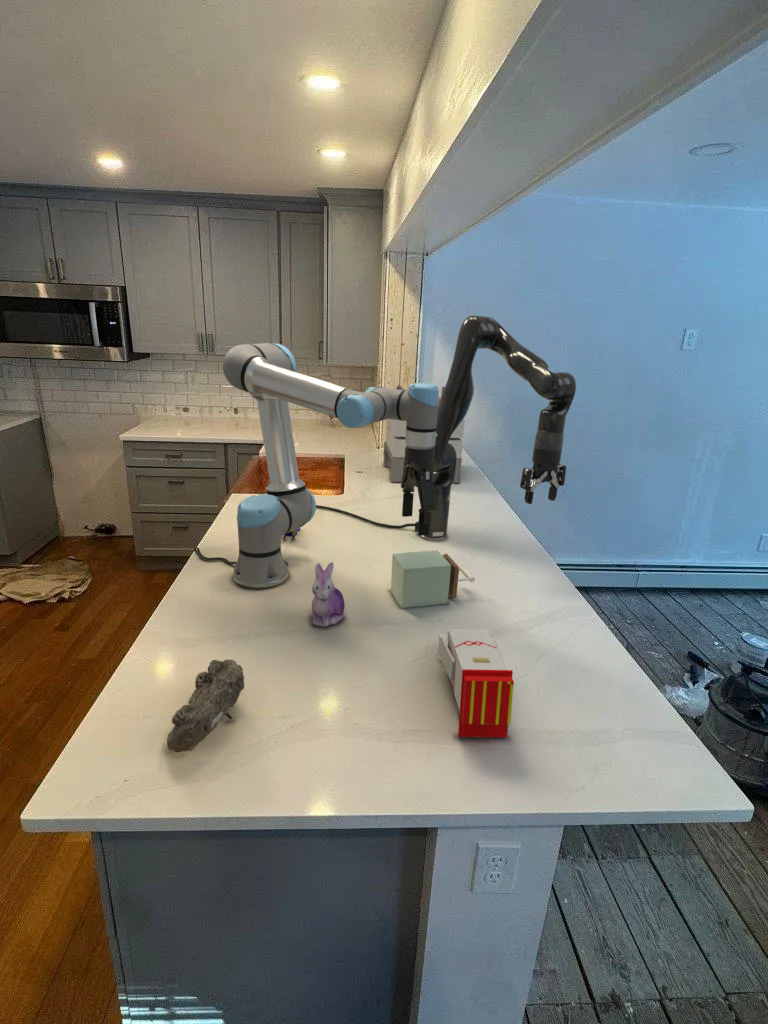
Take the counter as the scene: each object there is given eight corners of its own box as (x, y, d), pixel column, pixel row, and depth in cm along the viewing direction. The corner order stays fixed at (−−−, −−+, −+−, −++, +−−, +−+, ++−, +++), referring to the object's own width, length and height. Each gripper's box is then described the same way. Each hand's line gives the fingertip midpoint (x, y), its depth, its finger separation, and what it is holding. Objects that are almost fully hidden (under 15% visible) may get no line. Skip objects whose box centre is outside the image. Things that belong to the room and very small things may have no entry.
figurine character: (298, 546, 189) (303, 525, 202) (297, 526, 185) (302, 506, 199) (277, 546, 188) (284, 525, 202) (276, 525, 185) (283, 505, 198)
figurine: (317, 631, 137) (317, 576, 132) (303, 612, 146) (302, 559, 141) (353, 623, 142) (354, 569, 137) (337, 605, 150) (337, 553, 145)
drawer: (462, 581, 164) (464, 552, 161) (474, 596, 156) (478, 565, 153) (405, 587, 160) (407, 556, 157) (415, 602, 152) (417, 570, 149)
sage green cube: (434, 586, 163) (437, 550, 159) (447, 603, 154) (451, 565, 150) (390, 590, 160) (392, 553, 156) (401, 608, 150) (403, 569, 147)
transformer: (382, 463, 289) (386, 382, 275) (445, 464, 293) (451, 384, 279) (390, 482, 257) (394, 392, 243) (460, 483, 261) (468, 394, 247)
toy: (488, 613, 130) (523, 677, 101) (484, 667, 133) (517, 744, 104) (435, 612, 130) (455, 676, 101) (432, 666, 133) (451, 743, 103)
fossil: (192, 660, 117) (244, 628, 112) (224, 691, 120) (276, 661, 115) (142, 746, 98) (202, 712, 93) (182, 779, 101) (242, 748, 96)
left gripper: (452, 458, 133) (445, 542, 140) (418, 435, 155) (413, 508, 162) (422, 459, 131) (416, 544, 138) (392, 435, 153) (388, 509, 160)
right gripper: (557, 441, 163) (549, 495, 169) (519, 444, 157) (511, 500, 162) (577, 447, 157) (567, 503, 162) (537, 451, 151) (529, 508, 156)
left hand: (414, 525), depth 150 cm, fingers open, 13 cm apart
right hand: (539, 501), depth 162 cm, fingers open, 8 cm apart
